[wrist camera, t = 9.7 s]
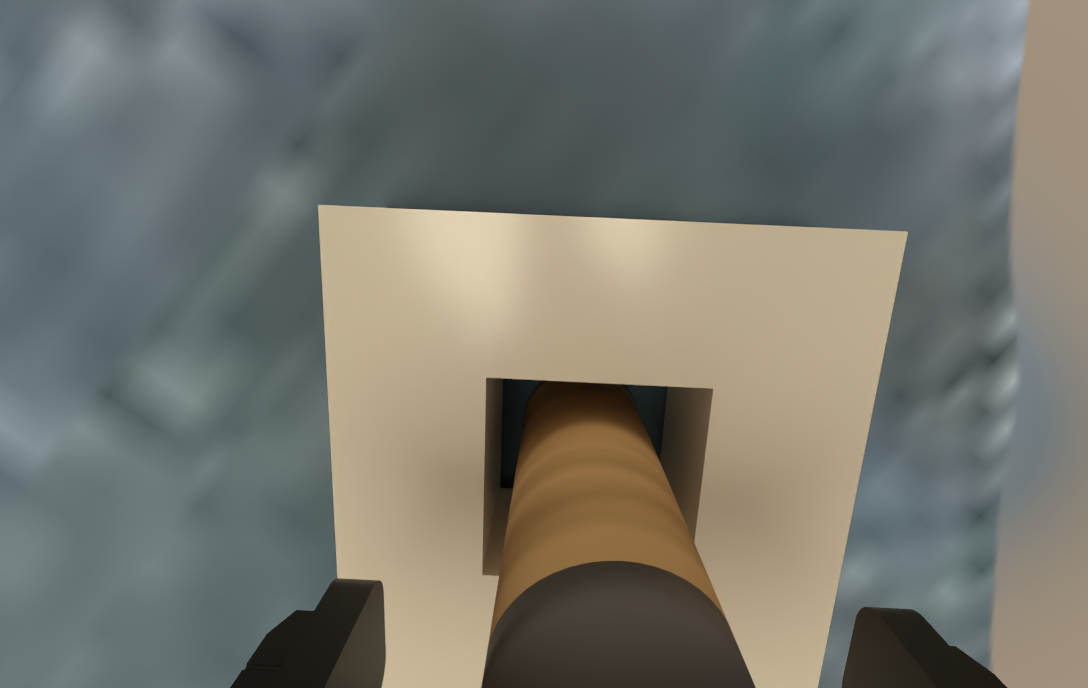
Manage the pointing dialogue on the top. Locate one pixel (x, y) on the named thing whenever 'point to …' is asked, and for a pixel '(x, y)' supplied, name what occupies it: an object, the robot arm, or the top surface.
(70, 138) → the top surface
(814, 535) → the socket block
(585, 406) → the peg
